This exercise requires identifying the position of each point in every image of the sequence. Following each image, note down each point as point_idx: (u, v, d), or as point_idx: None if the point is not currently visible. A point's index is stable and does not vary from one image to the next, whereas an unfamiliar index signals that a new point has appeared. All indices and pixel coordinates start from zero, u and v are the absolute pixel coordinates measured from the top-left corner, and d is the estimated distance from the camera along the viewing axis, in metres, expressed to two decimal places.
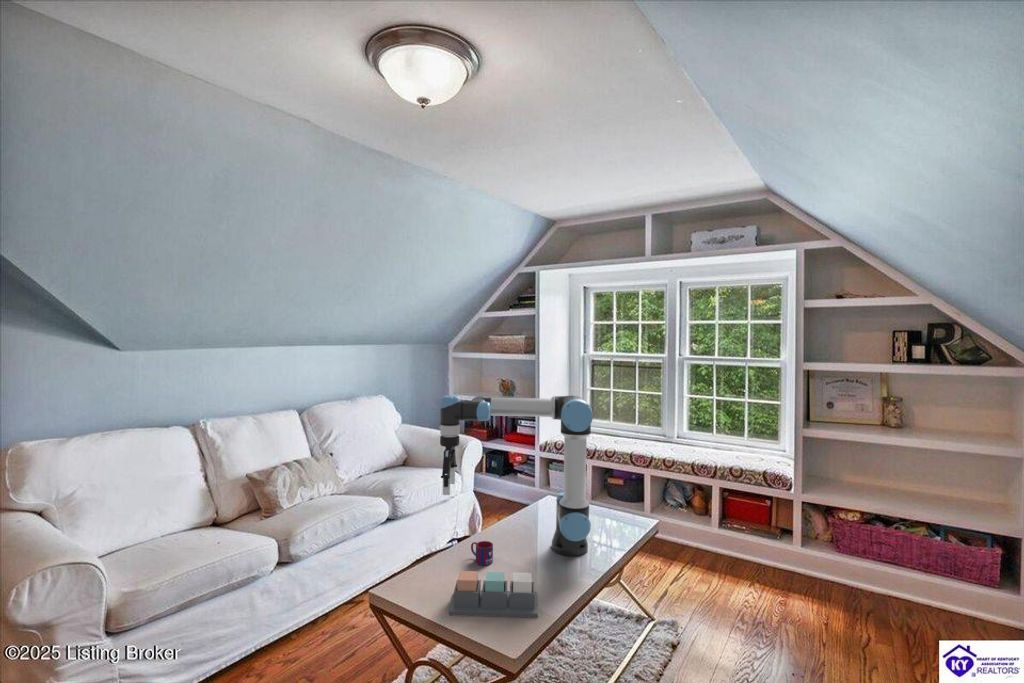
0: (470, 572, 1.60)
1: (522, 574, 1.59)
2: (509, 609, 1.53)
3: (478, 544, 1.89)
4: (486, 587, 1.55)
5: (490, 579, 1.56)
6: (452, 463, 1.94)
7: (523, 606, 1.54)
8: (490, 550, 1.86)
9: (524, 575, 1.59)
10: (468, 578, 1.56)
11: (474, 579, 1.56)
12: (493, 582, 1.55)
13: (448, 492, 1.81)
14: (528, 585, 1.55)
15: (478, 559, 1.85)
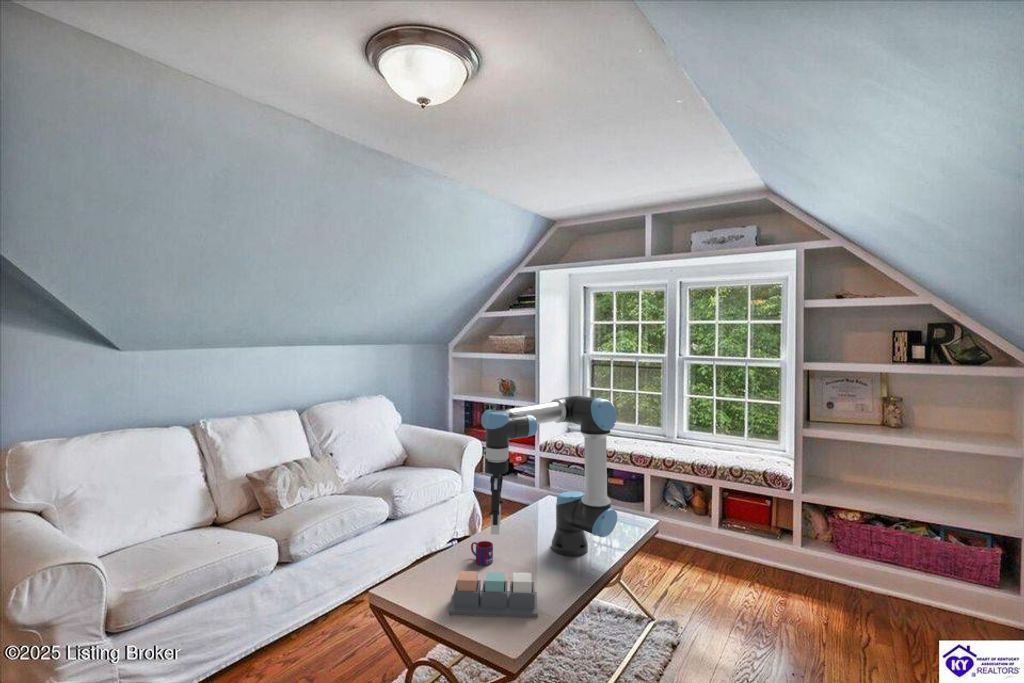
0: (470, 572, 1.60)
1: (522, 574, 1.59)
2: (509, 609, 1.53)
3: (478, 544, 1.89)
4: (486, 587, 1.55)
5: (490, 579, 1.56)
6: None
7: (523, 606, 1.54)
8: (490, 550, 1.86)
9: (524, 575, 1.59)
10: (468, 578, 1.56)
11: (474, 579, 1.56)
12: (493, 582, 1.55)
13: (497, 531, 1.53)
14: (528, 585, 1.55)
15: (478, 559, 1.85)
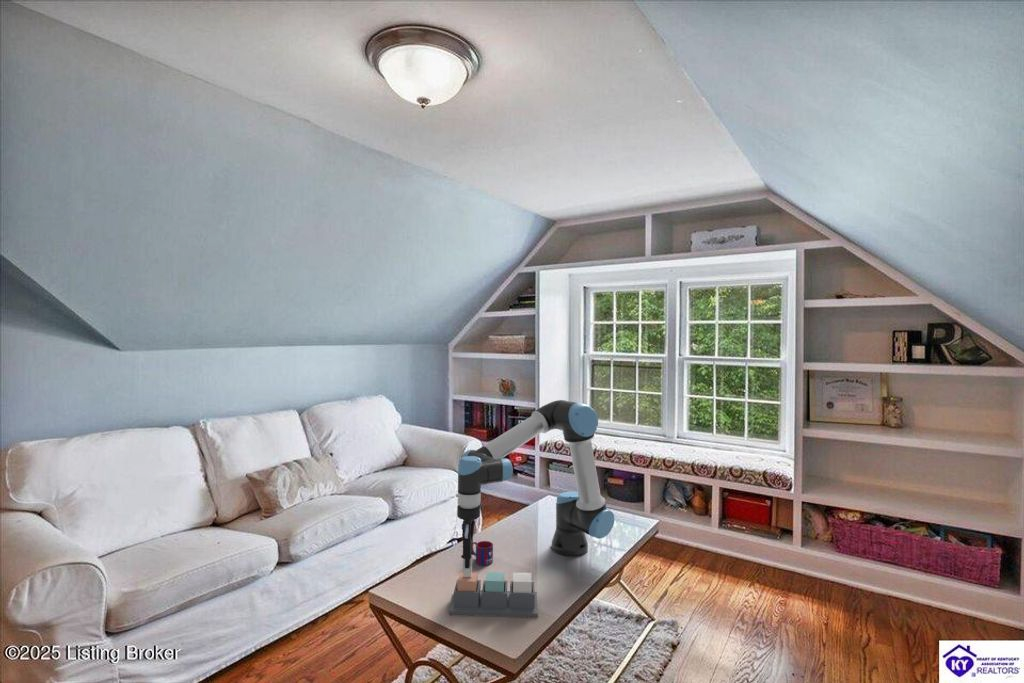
0: None
1: (522, 574, 1.59)
2: (509, 609, 1.53)
3: (478, 544, 1.89)
4: (486, 587, 1.55)
5: (490, 579, 1.56)
6: None
7: (523, 606, 1.54)
8: (490, 550, 1.86)
9: (524, 575, 1.59)
10: (468, 579, 1.56)
11: (474, 580, 1.56)
12: (493, 582, 1.55)
13: (469, 574, 1.57)
14: (528, 585, 1.55)
15: (478, 559, 1.85)
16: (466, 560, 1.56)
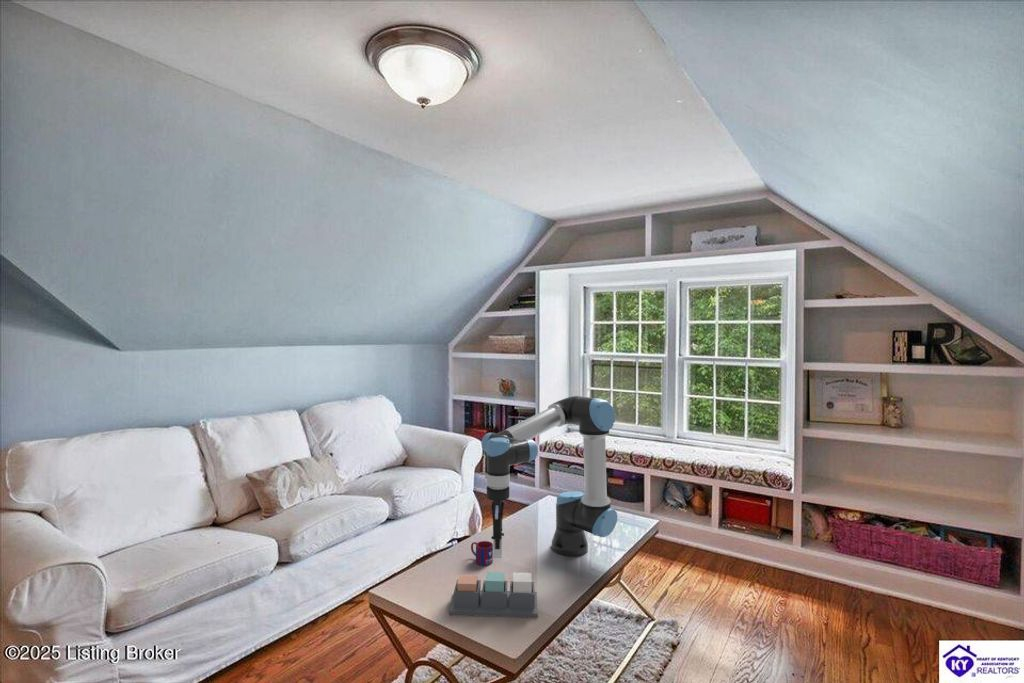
0: (470, 575, 1.60)
1: (522, 574, 1.59)
2: (509, 609, 1.53)
3: (478, 544, 1.89)
4: (486, 587, 1.55)
5: (490, 579, 1.56)
6: None
7: (523, 606, 1.54)
8: (490, 550, 1.86)
9: (524, 575, 1.59)
10: (468, 582, 1.56)
11: (474, 583, 1.56)
12: (493, 582, 1.55)
13: (500, 555, 1.57)
14: (528, 585, 1.55)
15: (478, 559, 1.85)
16: (496, 541, 1.56)
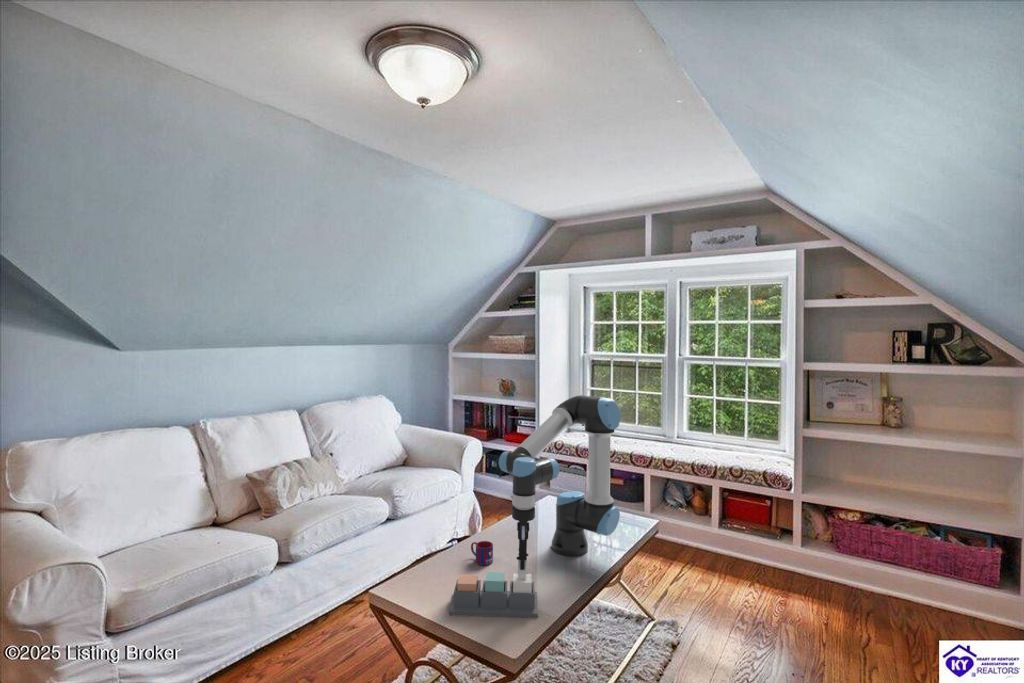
0: (470, 575, 1.60)
1: None
2: (509, 609, 1.53)
3: (478, 544, 1.89)
4: (486, 587, 1.55)
5: (490, 579, 1.56)
6: None
7: (523, 606, 1.54)
8: (490, 550, 1.86)
9: None
10: (468, 582, 1.56)
11: (474, 583, 1.56)
12: (493, 582, 1.55)
13: (524, 575, 1.57)
14: (528, 586, 1.55)
15: (478, 559, 1.85)
16: (521, 561, 1.56)
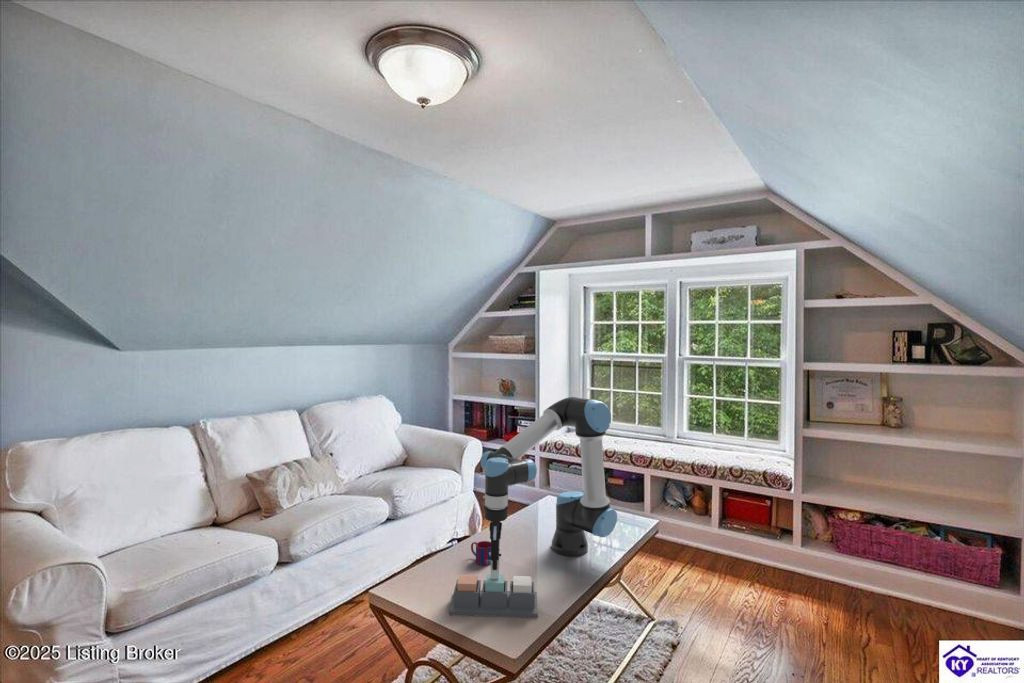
0: (470, 575, 1.60)
1: (522, 578, 1.59)
2: (509, 609, 1.53)
3: (478, 544, 1.89)
4: (486, 589, 1.55)
5: (490, 581, 1.56)
6: None
7: (523, 606, 1.54)
8: (490, 550, 1.86)
9: (524, 578, 1.59)
10: (468, 582, 1.56)
11: (474, 583, 1.56)
12: (493, 584, 1.55)
13: (497, 575, 1.57)
14: (527, 589, 1.55)
15: (478, 559, 1.85)
16: (494, 562, 1.56)
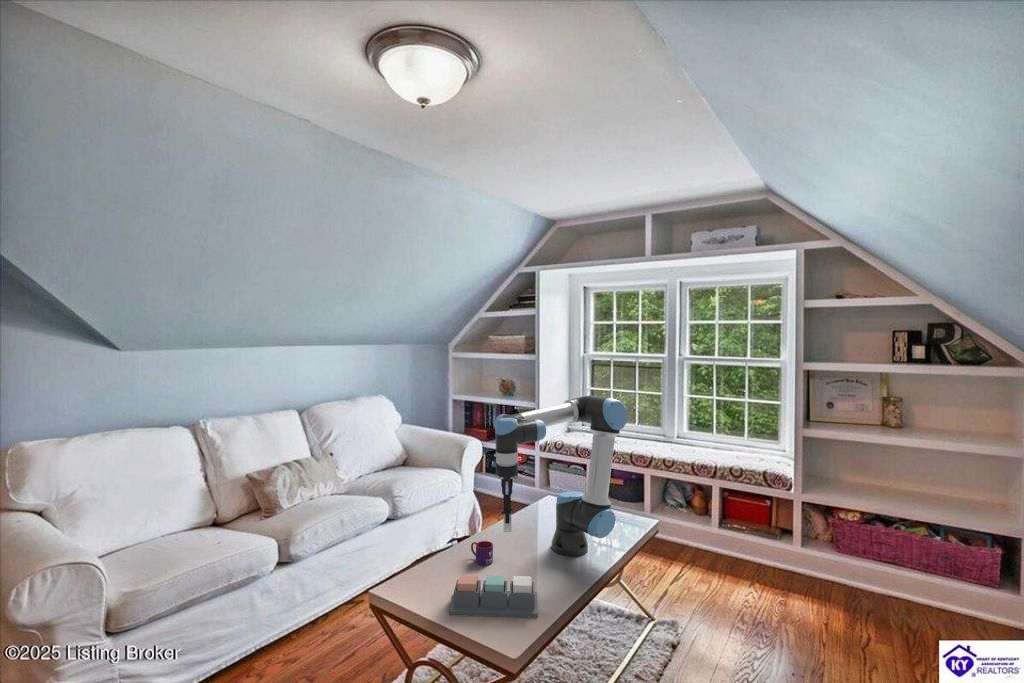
0: (470, 575, 1.60)
1: (522, 578, 1.59)
2: (509, 609, 1.53)
3: (478, 544, 1.89)
4: (486, 591, 1.55)
5: (490, 583, 1.56)
6: None
7: (523, 606, 1.54)
8: (490, 550, 1.86)
9: (524, 578, 1.59)
10: (468, 582, 1.56)
11: (474, 583, 1.56)
12: (493, 586, 1.55)
13: (510, 529, 1.65)
14: (527, 589, 1.55)
15: (478, 559, 1.85)
16: (506, 515, 1.64)
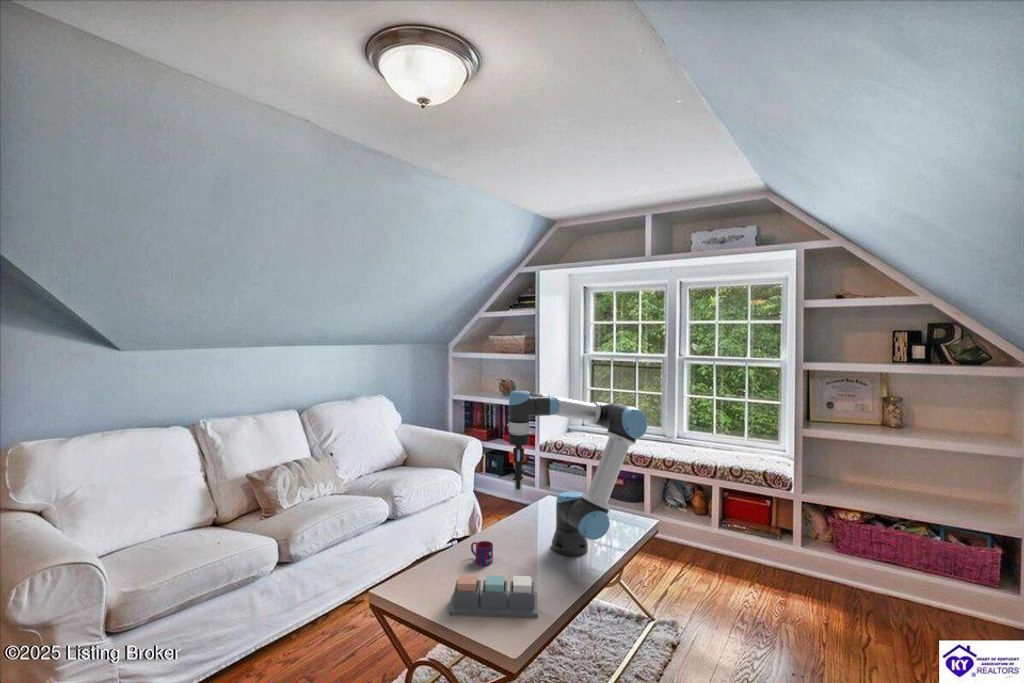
0: (470, 575, 1.60)
1: (522, 578, 1.59)
2: (509, 609, 1.53)
3: (478, 544, 1.89)
4: (486, 591, 1.55)
5: (490, 583, 1.56)
6: None
7: (523, 606, 1.54)
8: (490, 550, 1.86)
9: (524, 578, 1.59)
10: (468, 582, 1.56)
11: (474, 583, 1.56)
12: (493, 586, 1.55)
13: (520, 495, 1.76)
14: (527, 589, 1.55)
15: (478, 559, 1.85)
16: (517, 482, 1.75)
